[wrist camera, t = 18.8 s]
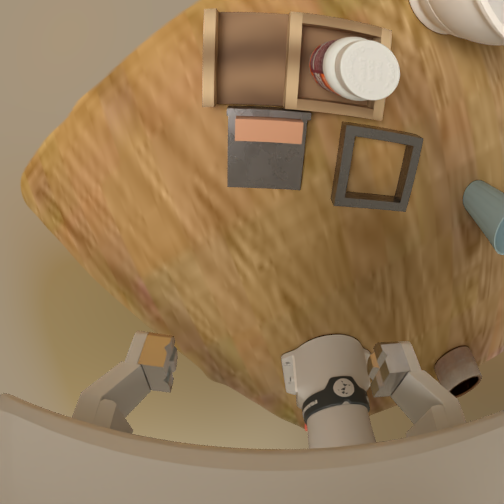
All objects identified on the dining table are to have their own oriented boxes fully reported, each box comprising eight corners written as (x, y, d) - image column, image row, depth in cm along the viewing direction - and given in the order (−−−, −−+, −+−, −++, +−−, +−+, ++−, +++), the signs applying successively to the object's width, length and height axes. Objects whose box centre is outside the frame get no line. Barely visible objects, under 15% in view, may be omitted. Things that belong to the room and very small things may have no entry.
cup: (467, 226, 41) (501, 264, 32) (449, 195, 38) (488, 232, 29) (496, 197, 37) (534, 231, 29) (481, 164, 35) (524, 195, 26)
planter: (440, 350, 60) (454, 382, 52) (474, 340, 59) (489, 369, 51) (428, 374, 66) (439, 404, 58) (460, 364, 65) (472, 392, 57)
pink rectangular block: (297, 136, 34) (301, 144, 31) (236, 133, 34) (234, 140, 31) (299, 116, 32) (303, 122, 30) (237, 113, 32) (235, 118, 29)
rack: (375, 116, 32) (386, 122, 30) (207, 102, 32) (202, 107, 29) (384, 32, 26) (396, 31, 23) (209, 14, 26) (204, 9, 23)
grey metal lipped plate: (299, 188, 38) (302, 197, 36) (227, 185, 38) (226, 193, 36) (307, 109, 32) (311, 113, 30) (228, 105, 32) (227, 108, 30)
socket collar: (399, 204, 39) (405, 211, 38) (330, 198, 39) (333, 205, 37) (416, 134, 33) (423, 138, 32) (341, 121, 33) (346, 124, 31)
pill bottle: (300, 80, 30) (321, 88, 20) (318, 32, 26) (348, 21, 17) (350, 100, 31) (389, 119, 21) (368, 55, 27) (415, 57, 18)
